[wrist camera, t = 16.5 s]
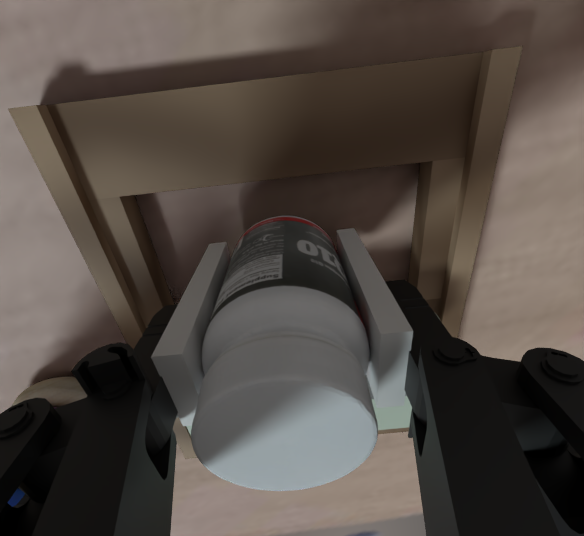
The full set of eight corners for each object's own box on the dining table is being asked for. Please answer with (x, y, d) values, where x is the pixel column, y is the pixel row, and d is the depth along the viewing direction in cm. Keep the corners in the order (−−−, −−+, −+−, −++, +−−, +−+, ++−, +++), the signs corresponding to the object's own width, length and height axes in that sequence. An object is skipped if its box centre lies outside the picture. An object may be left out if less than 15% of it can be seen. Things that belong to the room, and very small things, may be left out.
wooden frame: (37, 108, 12) (2, 109, 10) (496, 52, 11) (529, 45, 10) (189, 435, 23) (182, 459, 21) (427, 413, 22) (438, 435, 21)
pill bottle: (354, 274, 14) (433, 460, 7) (271, 318, 15) (262, 519, 8) (301, 190, 12) (333, 323, 5) (211, 248, 13) (122, 429, 6)
